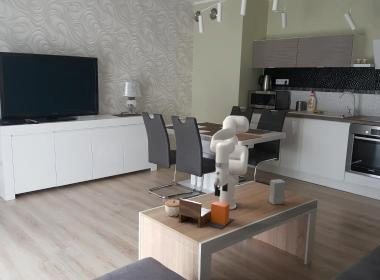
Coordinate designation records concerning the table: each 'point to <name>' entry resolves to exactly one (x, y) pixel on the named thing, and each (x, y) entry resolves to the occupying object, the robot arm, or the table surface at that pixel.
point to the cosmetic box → (277, 191)
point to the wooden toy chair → (193, 211)
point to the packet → (220, 212)
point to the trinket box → (172, 207)
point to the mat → (218, 224)
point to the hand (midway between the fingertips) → (221, 193)
